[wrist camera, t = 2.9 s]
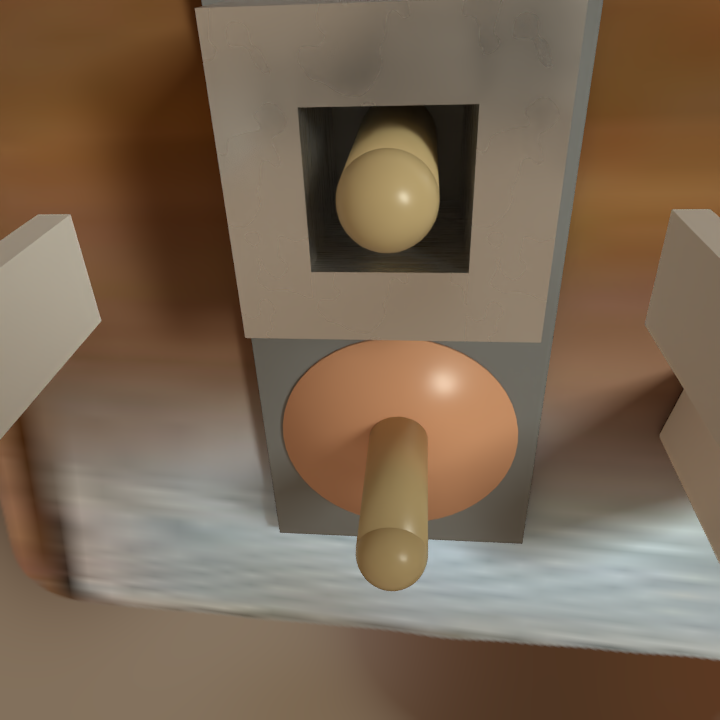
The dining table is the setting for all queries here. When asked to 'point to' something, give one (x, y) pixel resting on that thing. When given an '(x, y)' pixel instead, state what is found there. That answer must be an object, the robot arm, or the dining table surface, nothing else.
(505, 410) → the post board
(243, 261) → the collar
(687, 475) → the jar
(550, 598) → the dining table surface
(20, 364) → the robot arm
